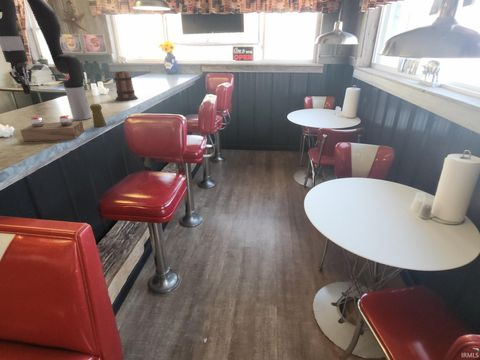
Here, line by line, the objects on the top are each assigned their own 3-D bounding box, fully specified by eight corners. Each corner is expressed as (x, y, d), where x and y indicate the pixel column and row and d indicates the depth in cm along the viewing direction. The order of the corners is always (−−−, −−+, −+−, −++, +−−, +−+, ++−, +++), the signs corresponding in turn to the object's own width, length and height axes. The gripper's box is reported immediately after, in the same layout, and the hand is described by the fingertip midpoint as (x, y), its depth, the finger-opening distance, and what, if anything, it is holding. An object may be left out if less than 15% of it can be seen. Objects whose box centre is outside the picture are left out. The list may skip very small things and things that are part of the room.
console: (37, 133, 134) (34, 123, 132) (84, 131, 137) (81, 121, 135) (24, 141, 123) (20, 130, 121) (75, 138, 126) (72, 127, 124)
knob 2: (65, 129, 131) (61, 115, 129) (75, 129, 132) (71, 115, 129) (61, 132, 128) (57, 117, 125) (72, 131, 128) (67, 117, 125)
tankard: (135, 100, 212) (130, 72, 203) (112, 101, 210) (106, 73, 202) (142, 95, 233) (137, 69, 224) (121, 96, 232) (116, 70, 223)
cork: (101, 127, 143) (96, 105, 138) (91, 126, 144) (85, 105, 139) (108, 124, 148) (104, 103, 144) (98, 124, 149) (93, 102, 145)
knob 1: (37, 131, 130) (32, 116, 127) (47, 130, 130) (43, 116, 128) (32, 134, 126) (27, 119, 123) (43, 133, 126) (38, 118, 124)
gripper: (12, 49, 119) (26, 91, 127) (-7, 49, 107) (10, 96, 115) (31, 48, 120) (44, 91, 128) (14, 49, 108) (30, 95, 116)
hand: (28, 93), depth 121 cm, fingers closed
